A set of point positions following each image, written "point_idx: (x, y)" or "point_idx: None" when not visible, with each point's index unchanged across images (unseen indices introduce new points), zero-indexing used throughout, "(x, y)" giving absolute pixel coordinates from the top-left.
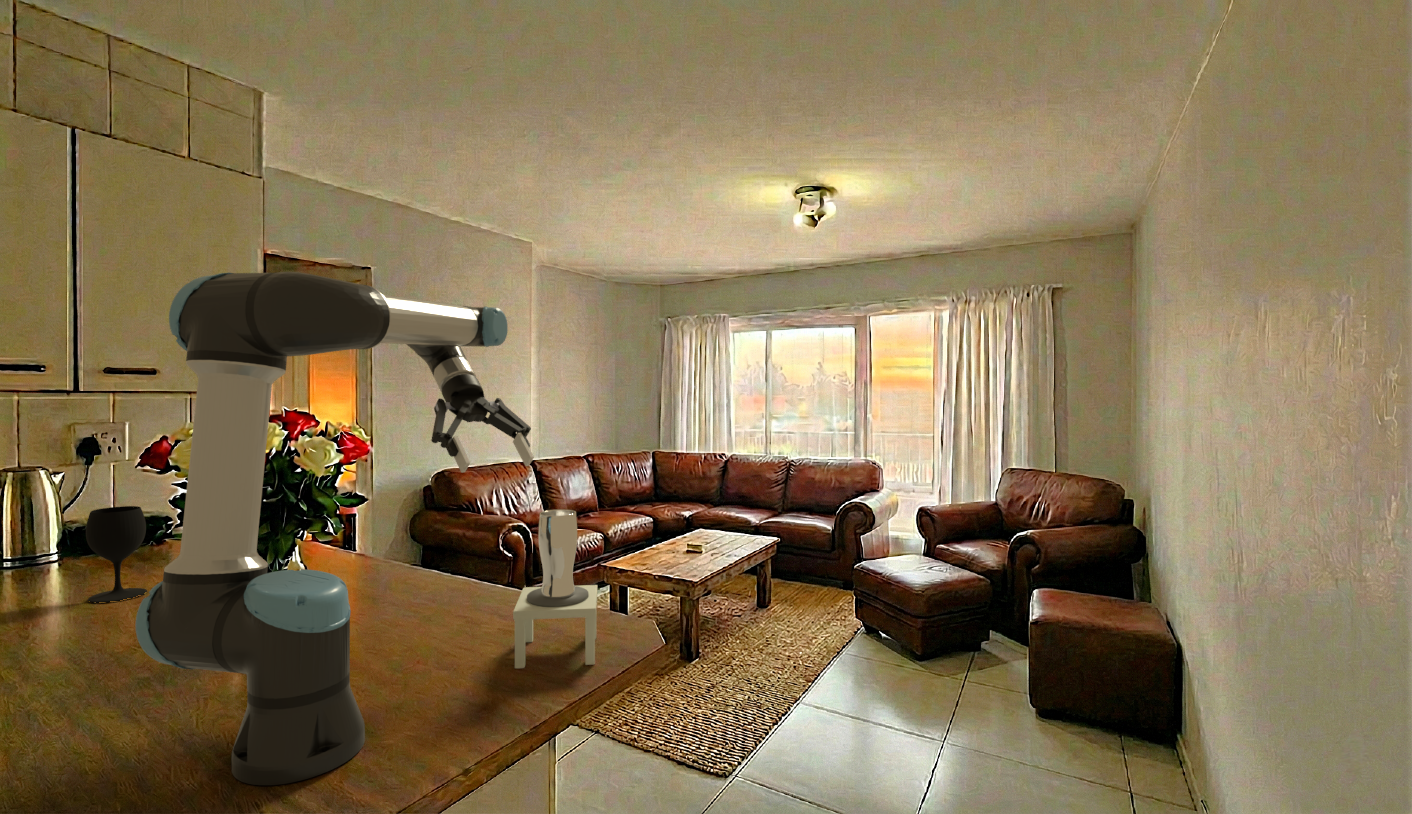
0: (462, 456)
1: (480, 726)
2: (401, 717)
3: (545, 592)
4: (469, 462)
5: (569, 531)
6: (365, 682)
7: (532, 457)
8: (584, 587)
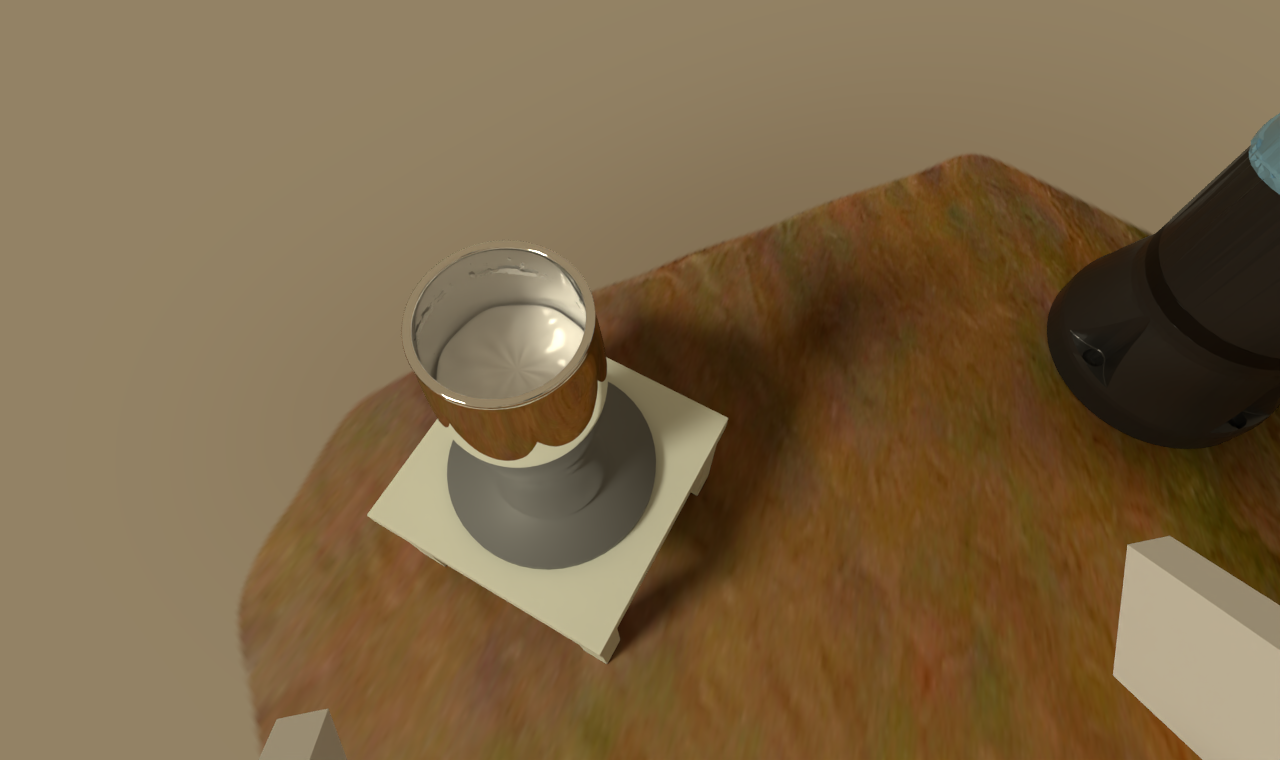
0: (1271, 613)
1: (846, 274)
2: (980, 384)
3: (603, 441)
4: (1138, 545)
5: (503, 282)
6: (1064, 617)
7: (304, 716)
8: (420, 515)
